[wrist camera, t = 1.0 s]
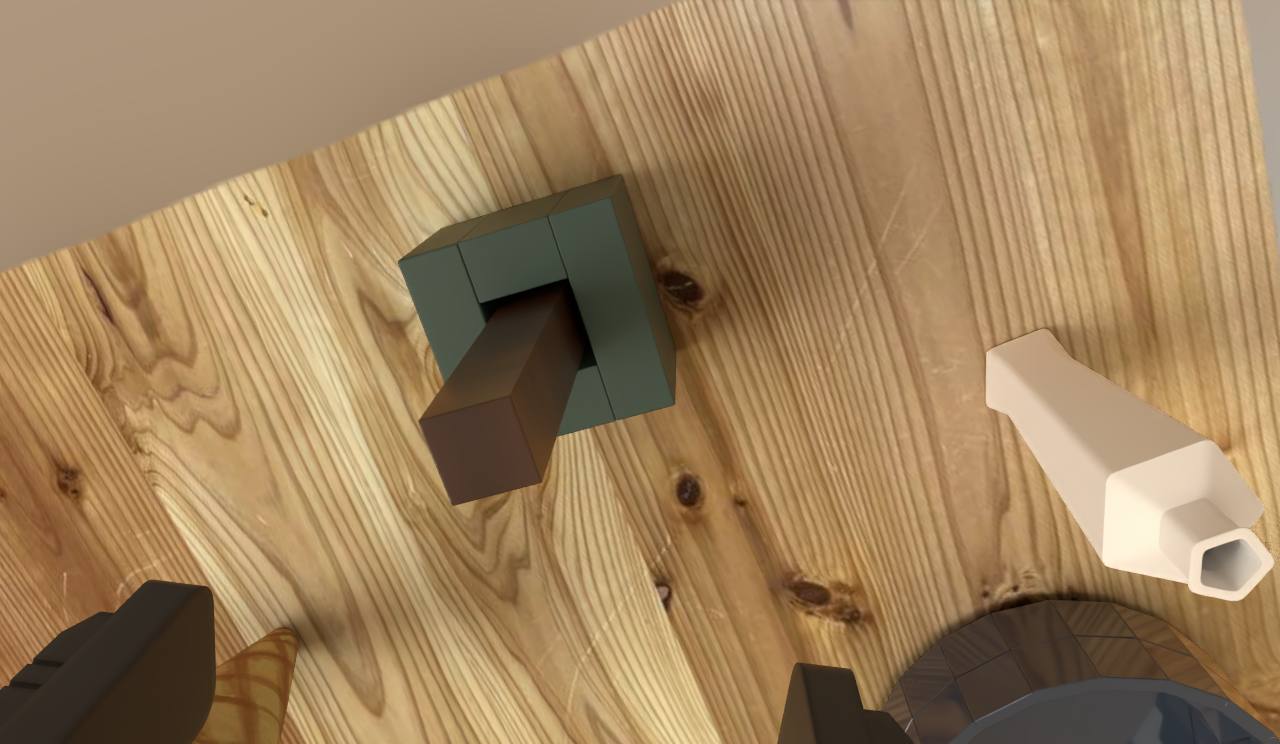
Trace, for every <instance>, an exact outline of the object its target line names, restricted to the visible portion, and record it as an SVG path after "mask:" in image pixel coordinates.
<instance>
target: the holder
mask: <svg viewBox="0 0 1280 744" xmlns="http://www.w3.org/2000/svg"><path fill="white" fill-rule="evenodd" d="M398 264H399V266H400V269H401V271H402V274H403V277H404V279H405V282H406V284H407V287H408V289H409V292H410V295H411V297H412V300H413V302H414V305H415V307H416V310H417V313H418V315H419V318H420V320H421V323H422V325H423V328H424V331H425V333H426V336H427V338H428V341H429V343H430V346H431V349H432V351H433V354H434V356H435V359H436V361H437V364H438V367H439V369H440V372H441V374H442V377H443V379H444V382H446V381H447V380H448V378H449V377H450V375H451V374H452V373H453V371H454V370H455V368H456V367H457V365H458V364H459V363H460V361H461V360H462V358H463V357H464V355H465V354H466V353H467V351H468V350H469V348H470V347H471V346H472V344H473V343H474V341H475V340H476V338H477V337H478V336H479V334H480V333H481V331H482V330H483V328H484V327H485V326H486V324H487V323H488V321H489V320H490V318H491V317H492V316H493V314H494V313H495V311H496V310H497V309H498V307H499V306H500V304H501V303H502V301H503V300H504V299H505V297H506V296H508V295H511V294H515V293H518V292H522V291H525V290H529V289H532V288H535V287H539V286H542V285H546V284H549V283H553V282H556V281H560V280H563V279H566V278H569V281H570V284H571V287H572V290H573V293H574V296H575V299H576V302H577V305H578V308H579V311H580V314H581V317H582V320H583V323H584V326H585V329H586V332H587V335H588V340H587V344H586V347H585V350H584V353H583V356H582V359H581V362H580V365H579V368H578V372H577V375H576V378H575V381H574V384H573V387H572V390H571V393H570V396H569V400H568V403H567V406H566V409H565V412H564V415H563V418H562V421H561V424H560V428H559V431H558V434H557V437H558V436H561V435H565V434H569V433H573V432H576V431H580V430H584V429H588V428H591V427H595V426H599V425H603V424H606V423H610V422H614V421H616V420H621V419H625V418H628V417H632V416H636V415H640V414H643V413H647V412H651V411H655V410H658V409H662V408H666V407H669V406H673V405H675V391H676V350H675V346H674V343H673V340H672V337H671V333H670V330H669V327H668V323H667V320H666V317H665V314H664V310H663V307H662V304H661V300H660V297H659V294H658V291H657V287H656V284H655V281H654V277H653V274H652V271H651V268H650V264H649V261H648V258H647V255H646V251H645V248H644V245H643V241H642V238H641V235H640V232H639V228H638V225H637V222H636V218H635V215H634V212H633V209H632V205H631V202H630V199H629V195H628V192H627V189H626V186H625V182H624V179H623V176H622V174H619V175H615V176H612V177H609V178H605V179H602V180H599V181H596V182H592V183H589V184H586V185H582V186H579V187H576V188H572V189H569V190H566V191H562V192H559V193H556V194H553V195H549V196H546V197H543V198H539V199H536V200H533V201H530V202H526V203H523V204H520V205H516V206H513V207H510V208H506V209H503V210H500V211H497V212H493V213H491V214H487V215H484V216H480V217H477V218H474V219H471V220H467V221H464V222H461V223H457V224H454V225H451V226H448V227H444V228H441V229H440V230H438V231H437V232H436V233H434V234H433V235H432V236H430V237H429V238H428V239H427V240H425V241H424V242H423V243H421V244H420V245H419V246H417V247H416V248H415V249H413V250H412V251H411V252H409V253H408V254H407V255H405V256H404V257H403V258H401V259H400V260H399V261H398Z"/></svg>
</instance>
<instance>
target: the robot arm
mask: <svg viewBox="0 0 1280 744" xmlns="http://www.w3.org/2000/svg"><path fill="white" fill-rule="evenodd" d="M215 688H216V660H215V629H214V601H213V595H212V592H211V590H210V589H209V588H208V587H207V586H199V585H192V584H184V583H176V582H168V581H160V580H149V581H147V582H145V583H144V584H143V585H142V586H141V587H140V588H139V589H138V590H137V591H136V592H135V593H134V594H133V595H132V596H131V597H130V598H129V599H128V600H127V601H126V602H125V603H124V604H123V605H122V606H121V607H120V608H119V609H118V610H117V611H116V612H115V613H108V612H99V613H97V614H95V615H93V616H91V617H89V618H88V619H86V620H84V621H82V622H80V623H78V624H76V625H74V626H72V627H70V628H69V629H67V630H65V631H63V632H61V633H60V634H59V635H58V636H57V637H56V638H55V639H54V640H53V641H52V642H50V643H49V644H48V645H47V646H46V647H45V648H44V649H43V650H42V651H41V652H40V653H39V654H38V655H37V656H36V657H35V658H34V659H33V663H32V664H27V665H26V666H25V667H24V668H23V669H22V670H21V671H20V672H19V673H18V674H17V675H16V676H15V677H13V678H12V679H11V682H10V685H9V686H4V687H3V688H2V689H1V690H0V744H192V742H193V741H194V740H195V738H196V737H197V735H198V734H199V732H200V731H201V729H202V728H203V726H204V724H205V722H206V720H207V718H208V715H209V713H210V710H211V707H212V703H213V699H214V695H215ZM777 744H914V743H913V741H912V739H911V738H910V737H909V736H908V735H907V734H906V732H905V731H904V730H903V729H902V728H901V727H900V725H899V724H898V723H897V722H896V721H895V719H894V718H893V717H892V716H891V715H890V714H889V712H881V711H873V710H865V709H863V705H862V702H861V698H860V694H859V691H858V687H857V684H856V680H855V677H854V674H853V672H852V670H851V669H846V668H838V667H830V666H822V665H814V664H806V663H798V662H797V663H796V664H795V666H794V668H793V671H792V675H791V680H790V685H789V689H788V694H787V699H786V704H785V709H784V714H783V719H782V724H781V728H780V733H779V738H778V743H777Z"/></svg>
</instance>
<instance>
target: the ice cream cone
mask: <svg viewBox="0 0 1280 744" xmlns="http://www.w3.org/2000/svg"><path fill="white" fill-rule="evenodd" d="M297 650H298V638H297V636H296V634H295V633H293V632H292V631H290V630H288V629H282V628H280V629H276V630H274V631H272V632H271V633H269V634H268V635H266V636H265V637H263V638H262V639H260V640H258V641H257V642H255V643H254V644H252V645H251V646H249V647H248V648H246V649H244V650H243V651H241V652H240V653H238V654H237V655H235V656H234V657H232V658H231V659H229V660H227V661H226V662H224V663H223V664H221V665H220V666H219V667H217V668H216V688H215V695H214V699H213V703H212V707H211V710H210V713H209V715H208V718H207V720H206V722H205V724H204V726H203V728H202V729H201V731H200V732H199V734H198V735H197V737H196V738H195V740H194V741H193V742H192V744H279V742H280V738H281V733H282V729H283V724H284V719H285V714H286V710H287V705H288V700H289V694H290V689H291V683H292V678H293V672H294V667H295V661H296V656H297Z"/></svg>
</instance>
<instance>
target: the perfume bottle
mask: <svg viewBox="0 0 1280 744" xmlns="http://www.w3.org/2000/svg"><path fill="white" fill-rule="evenodd" d="M986 405H987V406H988V407H989V408H992V409H994V410H997V411H999V412H1002V413H1004V414H1007V415H1008V416H1009V417H1010V419H1011V420H1012V422H1013V423H1014V425H1015V426H1016V428H1017V430H1018V431H1019V433H1020V434H1021V436H1022V437H1023V439H1024V440H1025V442H1026V444H1027V445H1028V447H1029V448H1030V450H1031V451H1032V453H1033V454H1034V456H1035V458H1036V459H1037V461H1038V462H1039V464H1040V465H1041V467H1042V468H1043V470H1044V472H1045V473H1046V475H1047V476H1048V478H1049V479H1050V481H1051V482H1052V484H1053V486H1054V487H1055V489H1056V490H1057V492H1058V493H1059V495H1060V496H1061V498H1062V500H1063V501H1064V503H1065V504H1066V506H1067V507H1068V509H1069V510H1070V512H1071V514H1072V515H1073V517H1074V518H1075V520H1076V521H1077V523H1078V524H1079V526H1080V528H1081V529H1082V531H1083V532H1084V534H1085V535H1086V537H1087V539H1088V540H1089V542H1090V543H1091V545H1092V546H1093V548H1094V549H1095V551H1096V553H1097V554H1098V556H1099V557H1100V559H1101V560H1102V562H1103V563H1104V564H1105V566H1107V567H1110V568H1114V569H1119V570H1124V571H1129V572H1134V573H1139V574H1143V575H1148V576H1153V577H1158V578H1163V579H1167V580H1172V581H1177V582H1182V583H1187V584H1188V587H1189V589H1190V590H1191V592H1194V593H1196V594H1200V595H1205V596H1210V597H1215V598H1220V599H1224V600H1229V601H1239V600H1242V599H1243V598H1244V597H1245V596H1247V594H1248V593H1249V592H1250V591H1251V590H1252V589H1253V588H1254V587H1255V586H1256V585H1257V584H1258V583H1259V582H1260V580H1261V579H1262V578H1263V577H1264V576H1265V575H1266V574H1267V573H1268V572H1269V571H1270V570H1271V568H1272V567H1273V565H1274V558H1273V556H1272V555H1271V553H1270V552H1269V551H1268V550H1267V548H1266V547H1265V546H1264V544H1263V543H1262V542H1261V541H1260V539H1259V538H1258V537H1257V536H1256V534H1255V533H1254V532H1253V531H1252V530H1251V529H1250V528H1251V527H1252V525H1253V524H1254V523H1255V522H1256V521H1257V520H1258V519H1259V518H1260V517H1261V515H1262V514H1263V512H1264V505H1263V503H1262V502H1261V501H1260V499H1259V498H1258V497H1257V495H1256V494H1255V493H1254V492H1253V490H1252V489H1251V488H1250V487H1249V485H1248V484H1247V483H1246V481H1245V480H1244V479H1243V478H1242V476H1241V475H1240V474H1239V472H1238V471H1237V470H1236V469H1235V467H1234V466H1233V465H1232V464H1231V462H1230V461H1229V460H1228V458H1227V457H1226V456H1225V455H1224V453H1223V452H1222V451H1221V449H1220V448H1219V447H1218V446H1217V444H1216V443H1214V442H1213V441H1212V440H1210V439H1208V438H1207V437H1205V436H1203V435H1202V434H1200V433H1198V432H1196V431H1195V430H1193V429H1191V428H1190V427H1188V426H1186V425H1185V424H1183V423H1181V422H1179V421H1178V420H1176V419H1174V418H1173V417H1171V416H1169V415H1168V414H1166V413H1164V412H1162V411H1161V410H1159V409H1157V408H1156V407H1154V406H1152V405H1151V404H1149V403H1147V402H1146V401H1144V400H1142V399H1140V398H1139V397H1137V396H1135V395H1134V394H1132V393H1130V392H1129V391H1127V390H1125V389H1123V388H1122V387H1120V386H1118V385H1117V384H1115V383H1113V382H1112V381H1110V380H1108V379H1107V378H1105V377H1103V376H1101V375H1100V374H1098V373H1096V372H1095V371H1093V370H1091V369H1090V368H1088V367H1086V366H1084V365H1083V364H1081V363H1079V362H1078V361H1076V360H1074V359H1073V358H1071V357H1070V355H1069V354H1068V353H1067V352H1066V350H1065V349H1064V348H1063V347H1062V345H1061V344H1060V343H1059V342H1058V340H1057V339H1056V338H1055V337H1054V336H1053V334H1052V333H1051V332H1050V331H1049V330H1048V329H1040V330H1037V331H1034V332H1032V333H1029V334H1027V335H1024V336H1022V337H1019V338H1016V339H1014V340H1011V341H1009V342H1006V343H1004V344H1001V345H999V346H996V347H993V348H991V349H990V350H989V351H988V352H987V354H986Z"/></svg>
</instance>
